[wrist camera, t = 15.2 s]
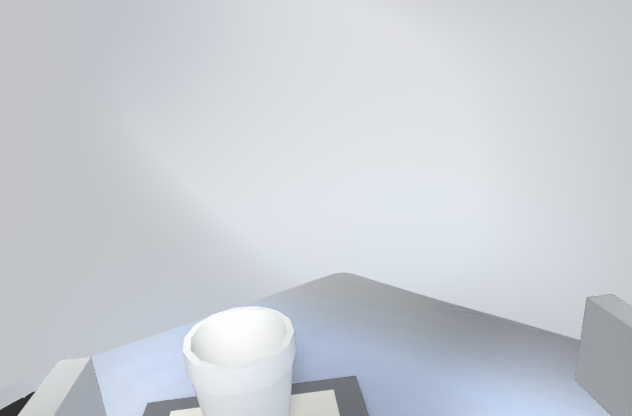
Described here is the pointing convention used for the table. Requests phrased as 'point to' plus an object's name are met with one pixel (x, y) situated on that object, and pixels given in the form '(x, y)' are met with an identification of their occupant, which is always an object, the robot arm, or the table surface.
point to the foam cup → (242, 362)
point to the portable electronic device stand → (15, 406)
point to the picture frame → (306, 400)
